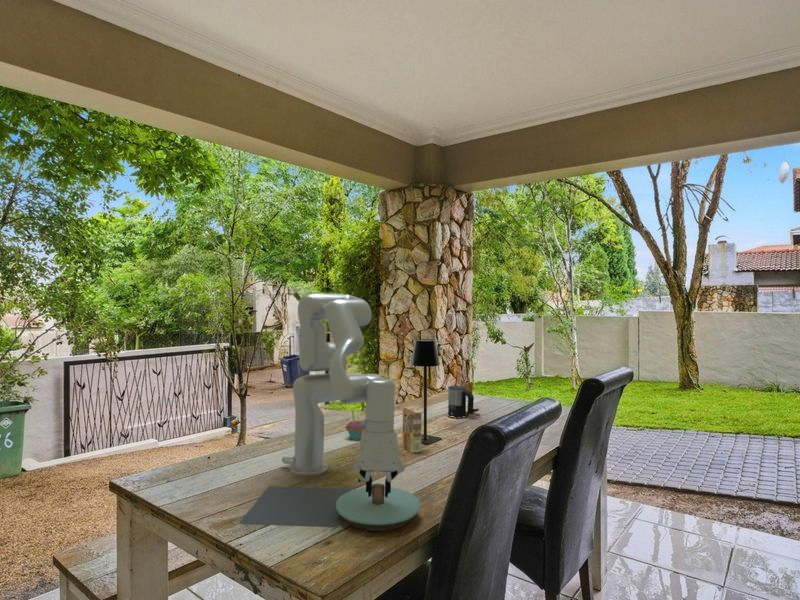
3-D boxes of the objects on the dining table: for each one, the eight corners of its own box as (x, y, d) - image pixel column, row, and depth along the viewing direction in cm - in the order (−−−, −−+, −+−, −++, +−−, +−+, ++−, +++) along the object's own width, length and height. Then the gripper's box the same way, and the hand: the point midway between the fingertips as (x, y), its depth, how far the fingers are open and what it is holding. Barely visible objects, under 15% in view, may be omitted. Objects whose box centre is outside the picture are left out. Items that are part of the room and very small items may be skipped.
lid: (329, 523, 119) (329, 501, 119) (342, 489, 141) (342, 470, 141) (420, 526, 119) (420, 503, 119) (419, 491, 141) (419, 472, 141)
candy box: (421, 452, 187) (422, 411, 187) (412, 453, 185) (412, 412, 185) (411, 445, 195) (411, 407, 195) (401, 447, 193) (402, 407, 193)
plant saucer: (340, 502, 140) (341, 490, 140) (413, 502, 141) (413, 490, 141) (336, 537, 119) (336, 523, 119) (421, 536, 120) (421, 522, 120)
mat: (238, 525, 124) (238, 523, 124) (268, 487, 149) (268, 486, 149) (337, 528, 123) (337, 527, 123) (351, 490, 148) (351, 488, 148)
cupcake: (342, 440, 200) (343, 410, 200) (349, 434, 209) (350, 406, 209) (363, 442, 198) (363, 412, 198) (369, 436, 207) (369, 408, 207)
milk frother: (444, 417, 244) (445, 387, 244) (454, 411, 258) (454, 382, 258) (472, 420, 238) (473, 390, 238) (480, 414, 253) (481, 385, 253)
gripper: (346, 428, 127) (344, 499, 127) (411, 430, 126) (409, 502, 126) (350, 421, 134) (348, 488, 134) (411, 423, 134) (410, 490, 134)
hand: (378, 494), depth 130 cm, fingers open, 3 cm apart
